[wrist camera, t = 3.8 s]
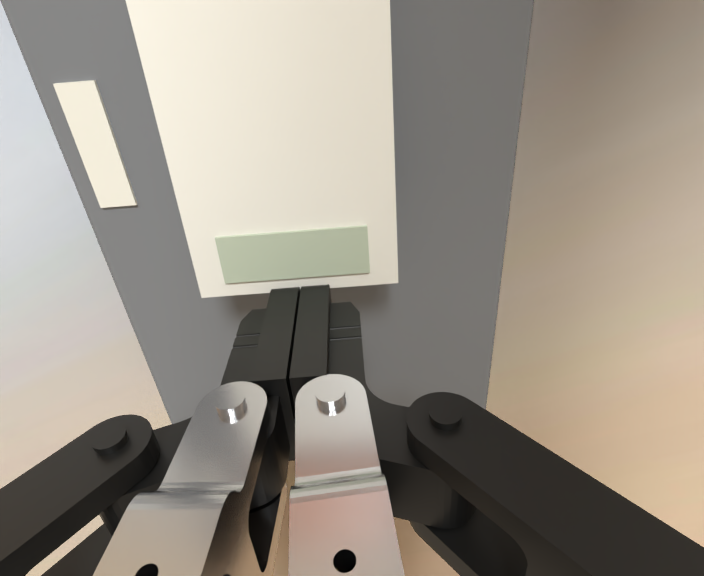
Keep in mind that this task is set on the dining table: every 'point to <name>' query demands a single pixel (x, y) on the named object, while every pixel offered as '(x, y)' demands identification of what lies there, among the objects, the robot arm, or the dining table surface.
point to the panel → (410, 180)
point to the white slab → (276, 137)
